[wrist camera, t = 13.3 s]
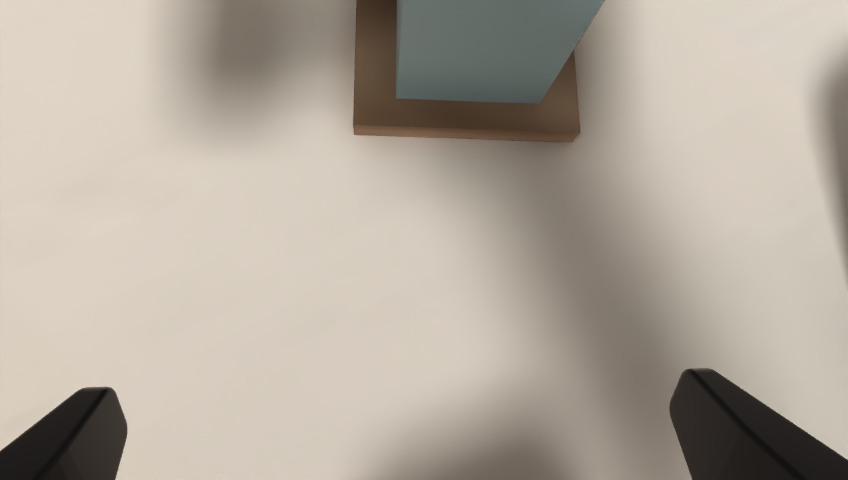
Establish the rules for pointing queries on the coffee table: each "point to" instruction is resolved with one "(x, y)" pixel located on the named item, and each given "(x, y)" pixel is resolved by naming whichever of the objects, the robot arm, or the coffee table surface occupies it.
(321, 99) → the coffee table surface
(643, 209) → the coffee table surface
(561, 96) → the dock
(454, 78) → the grey-blue block
